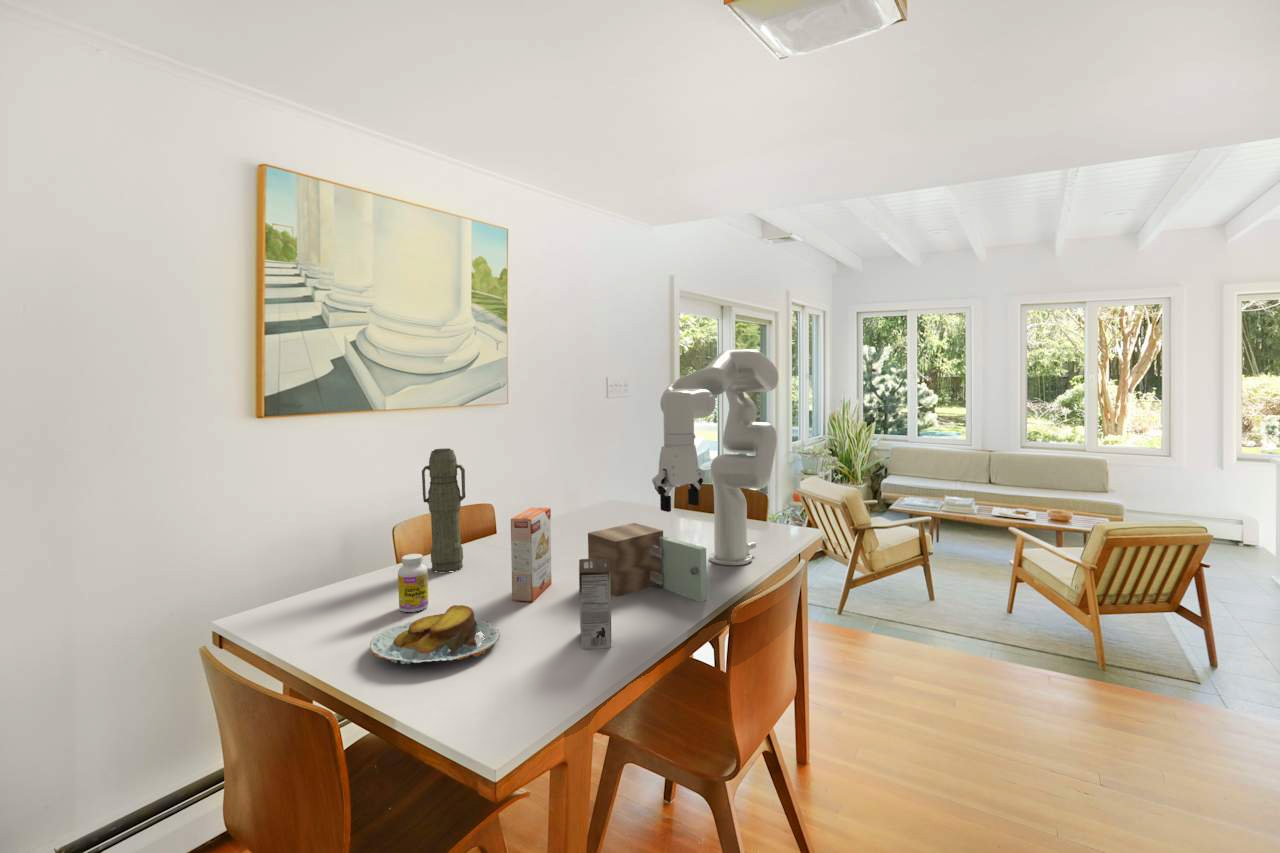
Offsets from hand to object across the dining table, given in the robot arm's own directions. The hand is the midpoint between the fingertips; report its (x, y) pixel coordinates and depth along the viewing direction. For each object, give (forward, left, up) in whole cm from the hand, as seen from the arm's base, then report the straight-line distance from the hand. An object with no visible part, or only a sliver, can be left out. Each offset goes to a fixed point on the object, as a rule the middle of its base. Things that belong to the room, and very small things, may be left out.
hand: (679, 507), depth 154 cm
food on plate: (+59, -11, -22) cm, 64 cm away
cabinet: (+6, -13, -22) cm, 26 cm away
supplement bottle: (+55, -36, -22) cm, 69 cm away
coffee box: (+33, +8, -22) cm, 40 cm away
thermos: (+36, -61, -22) cm, 74 cm away
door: (0, +1, -22) cm, 22 cm away
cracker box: (+28, -26, -22) cm, 44 cm away
